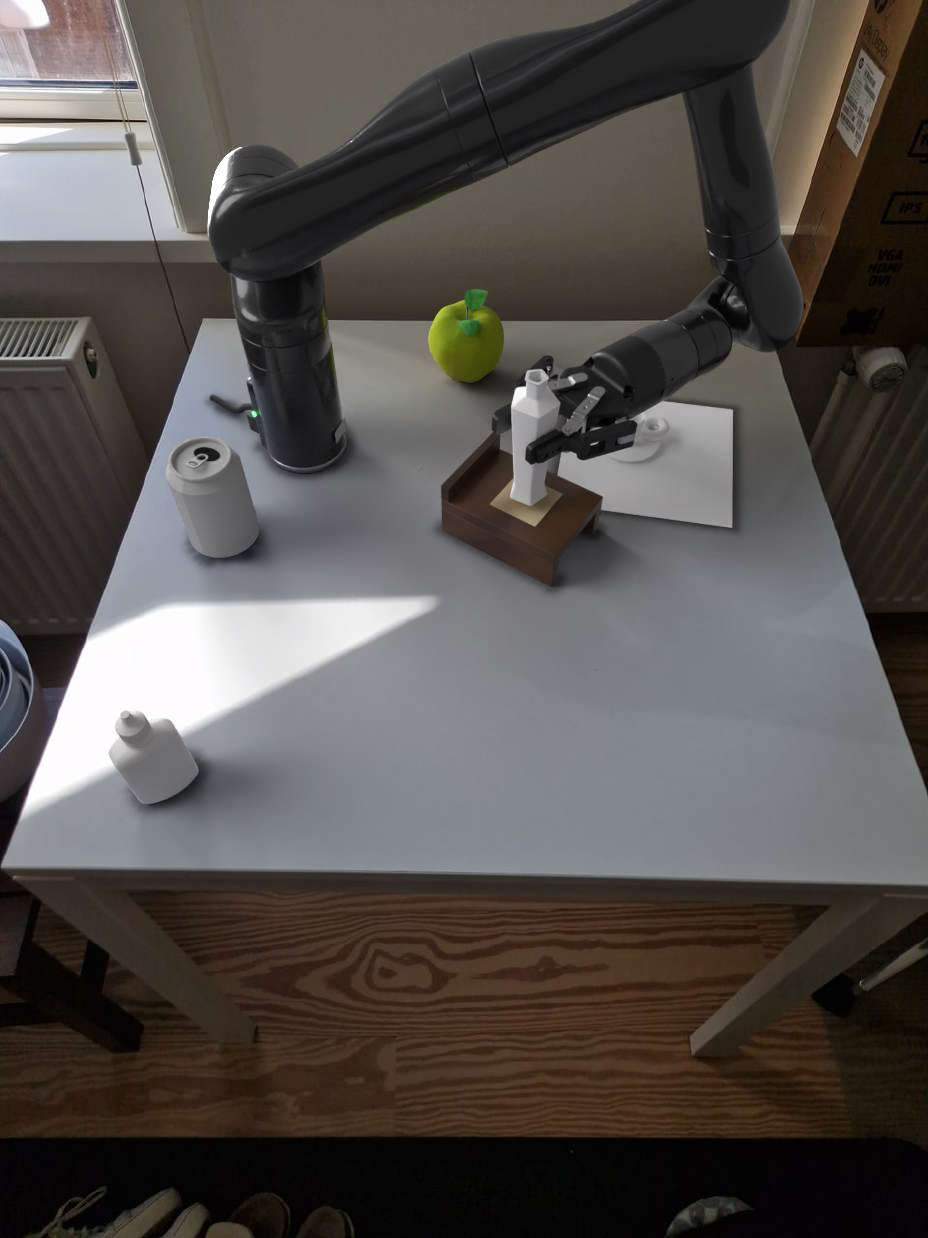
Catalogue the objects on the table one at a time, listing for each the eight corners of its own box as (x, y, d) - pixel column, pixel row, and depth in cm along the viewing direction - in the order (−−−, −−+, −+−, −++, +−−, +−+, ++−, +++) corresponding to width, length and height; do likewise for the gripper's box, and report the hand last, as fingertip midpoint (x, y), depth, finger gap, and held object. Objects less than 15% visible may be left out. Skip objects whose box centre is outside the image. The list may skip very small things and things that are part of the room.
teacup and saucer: (668, 424, 104) (674, 397, 101) (664, 469, 100) (671, 443, 96) (596, 415, 105) (600, 388, 102) (589, 459, 100) (594, 433, 97)
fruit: (508, 356, 112) (512, 287, 104) (492, 402, 107) (495, 333, 99) (441, 346, 113) (439, 277, 105) (422, 390, 108) (418, 321, 100)
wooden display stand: (441, 530, 94) (440, 485, 88) (491, 477, 99) (493, 431, 93) (551, 587, 89) (557, 543, 84) (597, 528, 94) (606, 482, 89)
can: (274, 524, 95) (252, 442, 85) (236, 572, 91) (209, 492, 81) (217, 503, 96) (190, 421, 87) (178, 549, 92) (144, 468, 83)
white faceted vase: (547, 511, 87) (559, 396, 75) (505, 504, 88) (510, 390, 76) (553, 478, 90) (566, 363, 78) (512, 473, 90) (518, 357, 78)
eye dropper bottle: (138, 762, 77) (91, 694, 68) (201, 756, 78) (163, 687, 68) (133, 807, 75) (84, 743, 65) (198, 800, 75) (158, 735, 66)
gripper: (598, 304, 87) (465, 370, 81) (700, 376, 81) (563, 453, 75) (590, 365, 93) (465, 430, 88) (684, 436, 87) (556, 512, 81)
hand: (511, 440), depth 81 cm, fingers closed on white faceted vase, 4 cm apart
